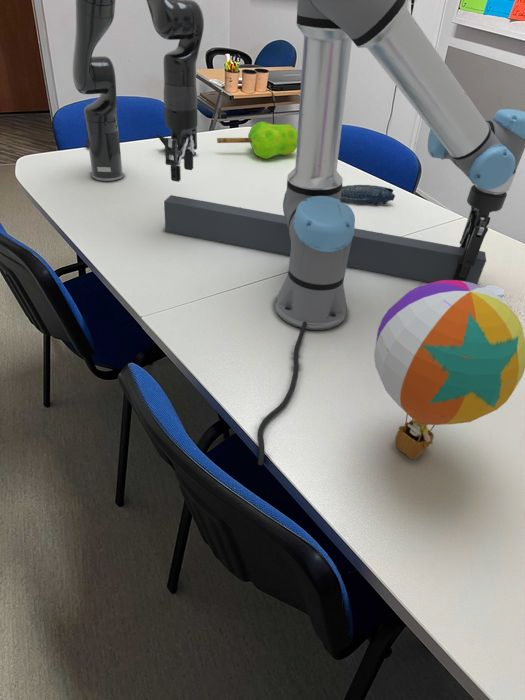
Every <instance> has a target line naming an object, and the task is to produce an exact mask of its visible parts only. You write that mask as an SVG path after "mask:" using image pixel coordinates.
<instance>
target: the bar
mask: <svg viewBox="0 0 525 700" xmlns="http://www.w3.org/2000/svg"><path fill="white" fill-rule="evenodd" d="M163 204H164V205H163V208H164V209H163V210H164V230H165V232H166V233H171V234H176V235H182V236H186V237H191V238H197V239H202V240H207V241H213V242H216V243H223V244H226V245H227V244H229V245H232V246H238V247H243V248H247V249H253V250H258V251H263V252H269V253H273V254H274V253H275V254H280V255H284V256H290V253H291V239H290V234H289V229H288V225H287V221H286V218H285V216H284V214H277V213H273V212H266V211H261V210H257V209H250V208H245V207H239V206H233V205H228V204H222V203H216V202H212V201H206V200H202V199H201V200H200V199H195V198H189V197H183V196H179V195H172V194H170V195H169V196H168V197H167V198H166V199H165V200H163ZM464 249H465V248H461V247H460V246H455V245H449V244H444V243H438V242H434V241H433V242H432V241H427V240H423V239H416V238H411V237H405V236H400V235H394V234H389V233H383V232H378V231H372V230H367V229H361V228H356V227H355V230H354V236H353V238H352V242H351V247H350V252H349V257H348V261H347V266H346V268H347V267H348V268H351V269H352V268H353V269H357V270H362V271H369V272H372V273H379V274H383V275H389V276H393V277H399V278H404V279H410V280H414V281H420V282H425V283H432V282H436V281H441V280H453V278H454V275H455V272H456V270H457V267H458V264H459V263H457V261H458V260H461V259H462V256H463V252H464ZM486 262H487V256H486V252H485V251H483V250H479V252H478V255H477V258H476V260H475V264H474V266H473V267H472V266H471V268H470V270H469V273H468V276H467V278H466V281H465V282H470V283H474V284H477V285H478V283H479V281H480V279H481V276H482V273H483V271H484V268H485V265H486Z"/></svg>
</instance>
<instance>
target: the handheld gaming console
mask: <svg viewBox="0 0 525 700" xmlns="http://www.w3.org/2000/svg"><path fill="white" fill-rule="evenodd" d="M156 136H157V138H158V139H159V141H160V142H161V143H162V144H163V146H165V139H166V138H167V137H164V136H162V135H160V134H158V133H157V134H156ZM177 152H178V151H177ZM185 154H186V153H185ZM196 154H197V152H196V151H195V153H194V155H193V156H196ZM181 159H184V157H182V158H181Z"/></svg>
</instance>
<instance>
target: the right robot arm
mask: <svg viewBox="0 0 525 700" xmlns="http://www.w3.org/2000/svg"><path fill="white" fill-rule="evenodd" d="M408 1H409V0H297V6H296V22H295V24H296V27H297V28H298V29H299V30H300V32H301V34H302V35H303V48H302V62H301V75H300V92H299V105H298V119H297V121H298V123H297V132H298V135H297V148H296V150H295V152H296V153H295V167H294V168H293V169H291V171H290V172H289V173H288V174H287V179H286V191H285V193H284V197H283V199H282V210H283V215H284V216H285V218H286V221H287V225H288V229H289V234H290V239H291V253H290V255H289V262H288V263H289V264H288V270H287V271H288V272H287V275H286V278H285V279H284V282H283V283H282V285H281V287H280V290H279V291H278V294H277V296H276V300H275V311H276V313H277V315H278V316H279V317H280V318H281V319H282V320H283V321H284V322H286V323H287V324H289V325H291V326H293V327H296V328H300V331H299V333H298V337H297V340H296V342H295V345H294V350H293V371H292V376H291V380H290V381H291V382H290V384H289V388H288V390H287V393H286V394H285V397H284V399H283V400H282V401H281V402H280V404H279V405H278V406H277V407H276V408H275V409H273V410H272V411H271V412H270V413H268V414H267V415H266V416H265V417H264V419H263V420H262V421H261V422H260V425H259V426H258V429H257V445H258V457H257V464H258V466H263V465H264V460H265V451H266V450H265V441H264V440H265V439H264V431H265V430H266V429H265V428H266V427H267V425H268V424H269V422H270V421H271V420H272V419H273V418H274V417H275V416H277V415H278V414H279V413H281V411H283V409H285V408H286V406H287V405H288V403H289V402H290V401H291V398H292V396H293V394H294V391H295V388H296V385H297V380H298V376H299V354H300V348H301V344H302V342H303V339H304V335H305V332H306V330H310V331H324V330H325V331H326V330H329V329H333V328H336V327H337V326H339V325H340V324H342V323H343V322H344V320H345V318H346V315H347V310H348V305H347V297H346V292H345V286H344V280H345V275H346V271H347V261H348V257H349V252H350V247H351V242H352V238H353V236H354V230H355V228H356V227H355V224H356V217H355V212H354V211H353V209H352V208H351V207H350V205H348V204H347V203H345V202H342V201H341V200H340V199H341V191H342V186H343V182H344V179H343V176H341V174H340V173H339V172H338V170H337V169H338V161H339V152H340V144H341V137H342V129H343V128H342V127H343V120H344V112H345V110H344V109H345V103H346V102H345V101H346V94H347V85H348V76H349V69H350V60H351V50H352V44H353V43H354V45H355V46H356V47H357V48H359V49H364V48H366V49H367V50H368V52H370V54H371V55H372V56H373V58H374V59H375V60H376V62H377V63H378V64H379V65H380V66H381V68H382V69H383V70H384V71H385V73H386V74H387V76H388V77H389V78H390V79H391V80H392V82H393V83H394V84H395V85H396V87H397V88H398V90H399V91H400V92H401V93H402V94H403V96H404V97H405V99H406V100H407V101H408V103H409V104H410V105H411V106H412V108H413V109H414V110H415V111H416V112H417V114H418V115H419V117H420V118H421V120H423V122H424V123H425V124H426V125H427V127H428V128H429V129H430V130H429V133H428V138H427V151H428V154H429V156H430V157H431V158H433V159H434V158H435V159H440V160H450V161H451V163H453V164H454V165H455V166H456V167H457V169H459V170H460V171H462V173H463V174H464V175H465V176H466V177H467V178H468V180H469V181H470V183H472V184H473V185H472V186H470V189H469V193H468V196H467V199H466V203H467V204H468V206H470V212H469V215H468V218H467V221H466V222H465V223H466V224H465V226H464V229H463V232H462V235H461V239H460V240H459V247H461V248H465V249H464V252H463V256H462V259H461V260H458V261H457V263H459V264H458V267H457V270H456V272H455V275H454V278H453V280H459V281H466V278H467V276H468V273H469V270H470V268H471V266H472V267H473V266H474V264H475V260H476V258H477V255H478V252H479V251H481V248H482V244H483V242H484V239H485V237H486V234H487V233H488V232H489V227H488V225H489V224H490V221H491V217H490V213H492V212H495V213H496V212H499V211H501V209H502V208H503V206H504V204H505V201H506V199H507V196H508V194H507V192H509V191H510V189H511V186H512V183H513V181H514V179H515V176H516V173H517V169H518V167H519V164H520V161H521V159H522V156H523V154H524V152H525V111H523V110H519V109H512V108H502V109H501V108H500V109H498V110H497V111H496V112H495V115H494V116H493V118H492V120H486V119H485V118H484V117H483V115H482V114H481V113H480V111H479V109H478V108H477V107H476V105H475V104H474V103H473V101H472V100H471V98H470V97H469V96H468V94H467V92H466V91H465V89H464V88H463V87H462V85H461V83H459V81H458V80H457V78H456V77H455V75H454V73H452V71H451V70H450V68H449V67H448V65H447V64H446V63H445V61H444V60H443V58H442V57H441V55H440V54H439V52H438V51H437V49H436V48H435V47H434V46H433V43H432V42H431V41H430V39H429V38H428V36H427V35H426V34H425V32H424V31H423V30H422V28H421V27H420V25H419V24H418V22H417V20H416V19H415V18H414V16H413V15H412V13H411V12H410V10H409V9H408Z"/></svg>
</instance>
